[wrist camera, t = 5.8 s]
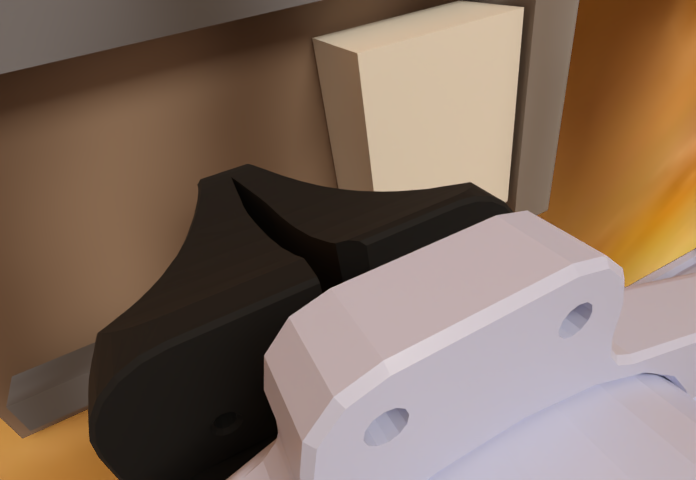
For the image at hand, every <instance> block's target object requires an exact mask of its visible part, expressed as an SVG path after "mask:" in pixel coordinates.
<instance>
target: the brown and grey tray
mask: <svg viewBox="0 0 696 480" xmlns="http://www.w3.org/2000/svg"><path fill="white" fill-rule="evenodd" d="M455 1H469V2H478V3H488V4H498V5H507V6H517V7H524V14H523V26H522V38H521V49H520V61H519V73H518V85H517V96H516V108H515V120H514V132H513V143H512V155H511V167H510V178H509V190H508V201H507V202H505V203H506V204H507V205H508V206H509V207H510V209H511V210H512V211H513V212H520V211H526V210H528V211H529V212H531V213H533V214H535V215H538V214H541V213H543V212H545V211H547V210H548V206H549V199H550V192H551V186H552V179H553V172H554V166H555V159H556V152H557V145H558V139H559V132H560V125H561V119H562V112H563V105H564V99H565V92H566V85H567V79H568V72H569V65H570V59H571V52H572V45H573V39H574V32H575V25H576V19H577V12H578V5H579V0H0V418H1V419H2V420H4V421H5V422H6V423H7V424H8V425H9V426H10V427H11V428H12V429H13V430H14V431H15V432H16V433H17V434H18V435H19V436H20V437H21V438H25V437H27V436H29V435H31V434H34V433H36V432H38V431H40V430H43V429H45V428H47V427H49V426H51V425H54V424H56V423H58V422H60V421H62V420H65V419H67V418H69V417H71V416H74V415H76V414H78V413H80V412H82V411H85V410H87V409H88V384H89V374H90V368H91V362H92V357H93V352H94V346H95V341H96V336H97V333H98V332H99V331H101V330H102V329H103V328H105V327H106V326H107V325H109V324H110V323H111V322H112V321H114V320H115V319H116V318H117V317H119V316H120V315H121V314H122V313H124V312H125V311H126V310H127V309H129V308H130V307H131V306H132V305H133V304H135V303H136V302H137V301H138V300H139V299H140V298H141V297H142V296H143V295H144V294H145V293H146V292H147V291H148V290H149V289H150V288H151V287H152V286H153V285H154V284H155V283H156V282H157V281H158V280H159V278H160V277H161V276H162V275H163V274H164V272H165V271H166V269H167V268H168V267H169V265H170V264H171V263H172V261H173V260H174V259H175V257H176V256H177V254H178V253H179V251H180V249H181V247H182V245H183V243H184V241H185V239H186V236H187V234H188V231H189V228H190V226H191V223H192V220H193V217H194V213H195V209H196V204H197V198H198V186H197V184H198V183H199V181H200V179H203V178H206V177H209V176H212V175H215V174H218V173H221V172H224V171H227V170H230V169H233V168H236V167H239V166H242V165H245V164H251V165H254V166H257V167H260V168H263V169H266V170H268V171H271V172H274V173H277V174H280V175H283V176H286V177H289V178H292V179H296V180H299V181H303V182H307V183H311V184H315V185H319V186H325V187H330V188H338V184H337V178H336V172H335V166H334V160H333V155H332V149H331V143H330V137H329V132H328V126H327V120H326V114H325V109H324V103H323V97H322V91H321V85H320V80H319V74H318V68H317V62H316V57H315V51H314V45H313V39H312V38H314V37H318V36H322V35H326V34H330V33H334V32H337V31H341V30H345V29H349V28H353V27H357V26H361V25H365V24H369V23H373V22H377V21H381V20H384V19H388V18H392V17H396V16H400V15H404V14H408V13H412V12H416V11H420V10H424V9H427V8H431V7H435V6H439V5H443V4H447V3H451V2H455Z"/></svg>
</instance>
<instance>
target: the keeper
mask: <svg viewBox="0 0 696 480" xmlns="http://www.w3.org/2000/svg"><path fill="white" fill-rule="evenodd" d="M523 14H524V7H517V6H507V5H498V4H488V3H478V2H469V1H455V2H451V3H447V4H443V5H439V6H435V7H431V8H427V9H424V10H420V11H416V12H412V13H408V14H404V15H400V16H396V17H392V18H388V19H384V20H381V21H377V22H373V23H369V24H365V25H361V26H357V27H353V28H349V29H345V30H341V31H337V32H334V33H330V34H326V35H322V36H318V37H314V38H312V39H313V45H314V51H315V57H316V62H317V68H318V74H319V80H320V85H321V91H322V97H323V103H324V109H325V114H326V120H327V126H328V132H329V137H330V143H331V149H332V155H333V160H334V166H335V172H336V178H337V184H338V189H346V190H356V191H407V190H420V189H430V188H436V187H442V186H448V185H455V184H461V183H467V182H472V183H473V184H475V185H477V186H478V187H480V188H482V189H483V190H485V191H487V192H489V193H490V194H492V195H494V196H495V197H497V198H499V199H501V200H502V201H504V202H507V201H508V190H509V178H510V167H511V155H512V143H513V132H514V120H515V108H516V96H517V85H518V73H519V61H520V49H521V38H522V26H523Z"/></svg>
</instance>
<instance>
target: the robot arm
mask: <svg viewBox="0 0 696 480" xmlns="http://www.w3.org/2000/svg"><path fill="white" fill-rule="evenodd" d="M197 186H198V198H197V204H196V209H195V213H194V217H193V220H192V223H191V226H190V228H189V231H188V234H187V236H186V239H185V241H184V243H183V245H182V247H181V249H180V251H179V253H178V254H177V256H176V257H175V259H174V260H173V261H172V263H171V264H170V265H169V267H168V268H167V269H166V271H165V272H164V274H163V275H162V276H161V277H160V278H159V280H158V281H157V282H156V283H155V284H154V285H153V286H152V287H151V288H150V289H149V290H148V291H147V292H146V293H145V294H144V295H143V296H142V297H141V298H140V299H139V300H138V301H137V302H136V303H135V304H133V305H132V306H131V307H130V308H129V309H127V310H126V311H125V312H124V313H122V314H121V315H120V316H119V317H117V318H116V319H115V320H114V321H112V322H111V323H110V324H109V325H107V326H106V327H105V328H103V329H102V330H101V331H99V332H98V333H97V336H96V341H95V346H94V352H93V357H92V362H91V368H90V374H89V384H88V418H89V437H90V443H91V444H92V446H93V448H94V450H95V451H96V453H97V455H98V457H99V458H100V459H101V460H102V462H103V463H104V464H105V465H106V466H107V467H108V468H109V469H110V470H111V471H112V472H113V474H114V475H115V476H116V477H117V478H118V479H119V480H696V248H695V249H694V250H692V251H690V252H688V253H686V254H685V255H683V256H681V257H679V258H677V259H676V260H674V261H672V262H670V263H668V264H667V265H665V266H663V267H661V268H660V269H658V270H656V271H654V272H652V273H651V274H649V275H647V276H645V277H643V278H642V279H640V280H638V281H636V282H634V283H633V284H631V285H629V286H627V287H624V273H623V268H621V267H620V266H619V265H618V264H616V263H615V262H614V261H613V260H611V259H610V258H609V257H608V256H606V255H605V254H603V253H601V252H599V251H598V250H596V249H594V248H592V247H591V246H589V245H587V244H585V243H584V242H582V241H580V240H578V239H577V238H575V237H573V236H571V235H570V234H568V233H566V232H564V231H563V230H561V229H559V228H557V227H556V226H554V225H552V224H550V223H549V222H547V221H545V220H543V219H542V218H540V217H538V216H536V215H535V214H533V213H531V212H529V211H528V210H526V211H520V212H513V211H512V210H511V209H510V207H509V206H508V205H507V204H506V203H505V202H504V201H502V200H501V199H499V198H497V197H495V196H494V195H492V194H490V193H489V192H487V191H485V190H483V189H482V188H480V187H478V186H477V185H475V184H473V183H472V182H467V183H461V184H455V185H448V186H442V187H436V188H430V189H420V190H407V191H356V190H346V189H338V188H330V187H325V186H319V185H315V184H311V183H307V182H303V181H299V180H296V179H292V178H289V177H286V176H283V175H280V174H277V173H274V172H271V171H268V170H266V169H263V168H260V167H257V166H254V165H251V164H245V165H242V166H239V167H236V168H233V169H230V170H227V171H224V172H221V173H218V174H215V175H212V176H209V177H206V178H203V179H200V181H199V183H198V184H197Z"/></svg>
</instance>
